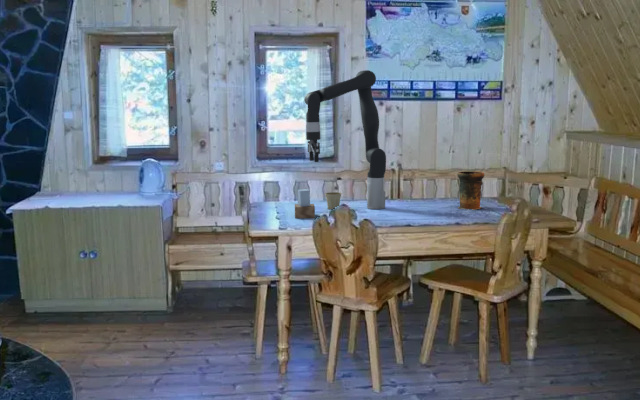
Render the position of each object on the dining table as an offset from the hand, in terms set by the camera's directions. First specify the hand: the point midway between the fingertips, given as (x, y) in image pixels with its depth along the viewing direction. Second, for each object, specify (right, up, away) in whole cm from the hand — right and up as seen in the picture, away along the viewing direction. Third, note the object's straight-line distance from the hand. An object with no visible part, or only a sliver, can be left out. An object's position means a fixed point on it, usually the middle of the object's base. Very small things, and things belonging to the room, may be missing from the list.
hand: (314, 161), depth 341 cm
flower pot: (+10, -26, +12) cm, 30 cm away
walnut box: (-5, -29, -10) cm, 31 cm away
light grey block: (-5, -23, -11) cm, 26 cm away
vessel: (+86, -25, +14) cm, 91 cm away
